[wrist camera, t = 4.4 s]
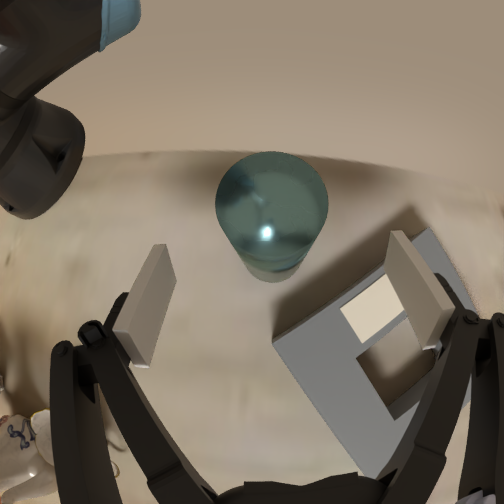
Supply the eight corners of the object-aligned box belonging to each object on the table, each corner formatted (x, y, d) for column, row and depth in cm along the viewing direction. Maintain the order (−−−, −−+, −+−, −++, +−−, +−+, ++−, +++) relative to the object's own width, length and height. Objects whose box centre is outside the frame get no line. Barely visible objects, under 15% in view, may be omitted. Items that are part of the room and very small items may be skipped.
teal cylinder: (231, 244, 25) (195, 187, 13) (280, 213, 25) (285, 135, 13) (264, 294, 24) (254, 279, 12) (313, 261, 24) (350, 215, 12)
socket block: (271, 339, 23) (271, 344, 20) (414, 235, 23) (429, 226, 20) (361, 467, 20) (369, 482, 16) (481, 363, 20) (499, 367, 17)
